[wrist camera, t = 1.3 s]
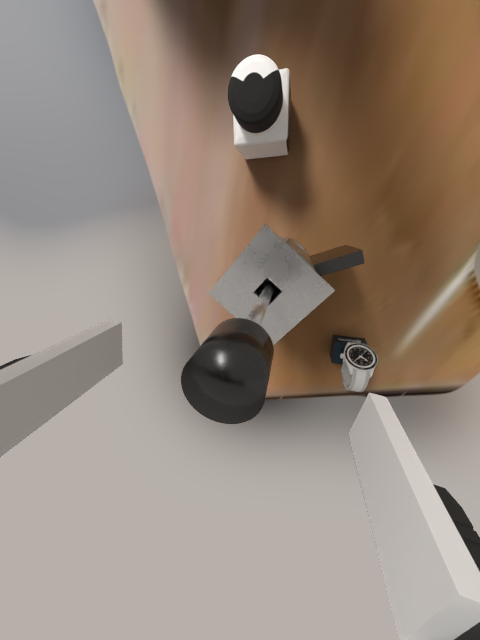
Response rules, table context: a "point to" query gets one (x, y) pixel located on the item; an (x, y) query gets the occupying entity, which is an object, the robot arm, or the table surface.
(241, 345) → the plunger
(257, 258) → the press
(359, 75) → the table surface
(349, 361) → the watch
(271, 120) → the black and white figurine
